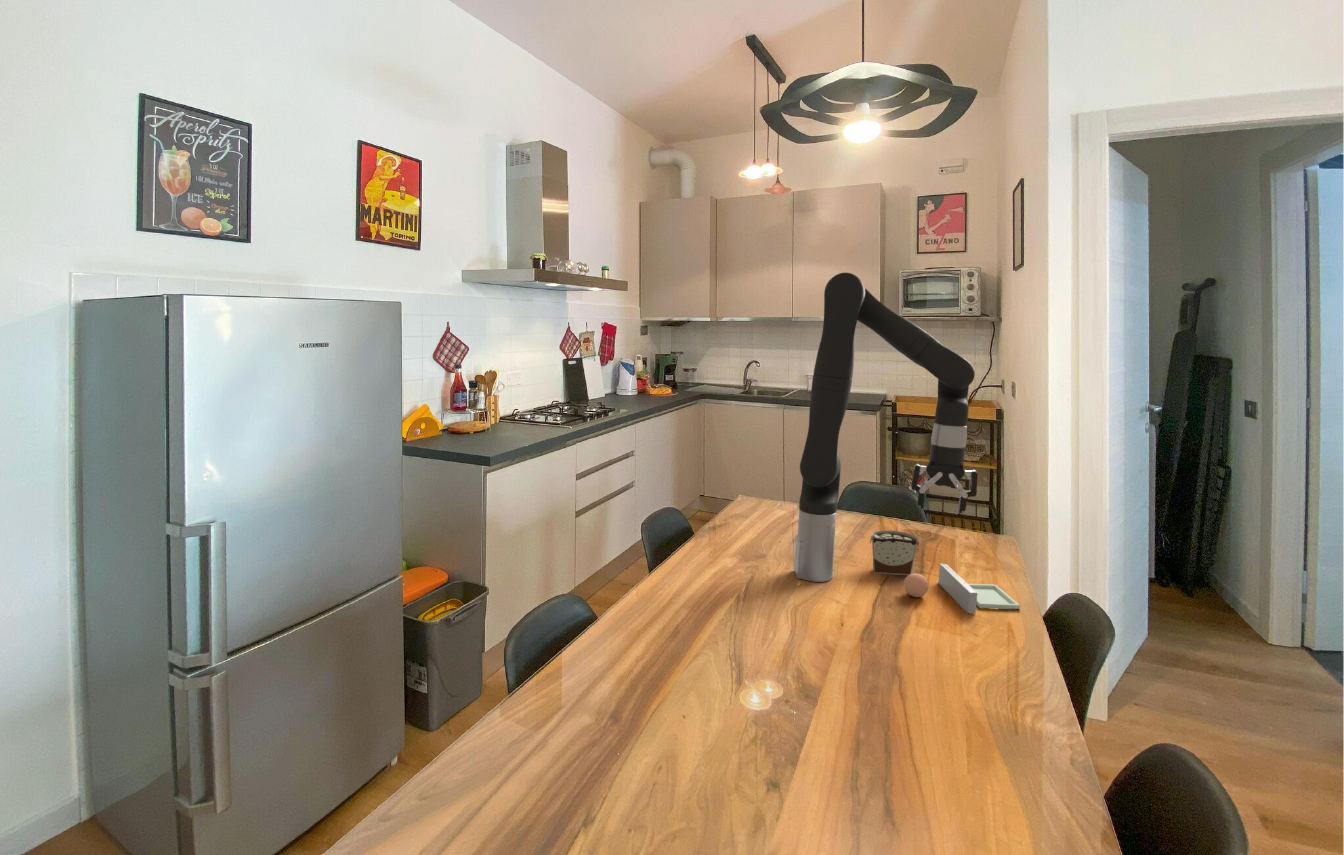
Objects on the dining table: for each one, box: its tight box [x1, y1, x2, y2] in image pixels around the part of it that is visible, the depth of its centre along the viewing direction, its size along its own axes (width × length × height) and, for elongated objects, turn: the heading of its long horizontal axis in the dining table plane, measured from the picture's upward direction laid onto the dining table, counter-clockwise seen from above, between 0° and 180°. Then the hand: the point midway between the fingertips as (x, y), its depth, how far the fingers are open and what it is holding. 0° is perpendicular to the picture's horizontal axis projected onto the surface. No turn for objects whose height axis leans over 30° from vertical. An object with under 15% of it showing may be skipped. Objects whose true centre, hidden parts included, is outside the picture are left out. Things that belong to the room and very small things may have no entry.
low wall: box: [937, 563, 977, 614], centre depth 155 cm, size 2×18×5 cm, turn 179°
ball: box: [903, 573, 930, 598], centre depth 155 cm, size 6×6×6 cm
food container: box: [869, 529, 920, 576], centre depth 171 cm, size 12×6×10 cm, turn 84°
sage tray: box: [967, 583, 1021, 610], centre depth 155 cm, size 9×12×1 cm
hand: (940, 510), depth 155 cm, fingers open, 8 cm apart
